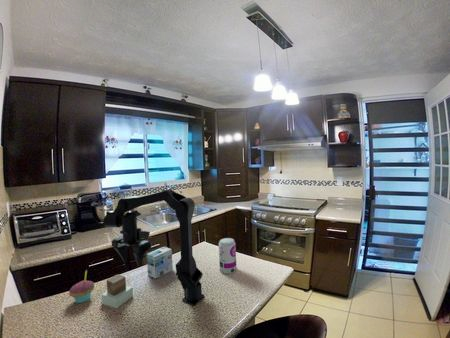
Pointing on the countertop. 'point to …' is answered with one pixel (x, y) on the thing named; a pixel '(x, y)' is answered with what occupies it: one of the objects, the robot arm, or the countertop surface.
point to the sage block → (117, 297)
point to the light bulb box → (159, 262)
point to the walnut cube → (116, 284)
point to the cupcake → (82, 290)
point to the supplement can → (227, 255)
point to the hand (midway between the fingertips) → (132, 263)
